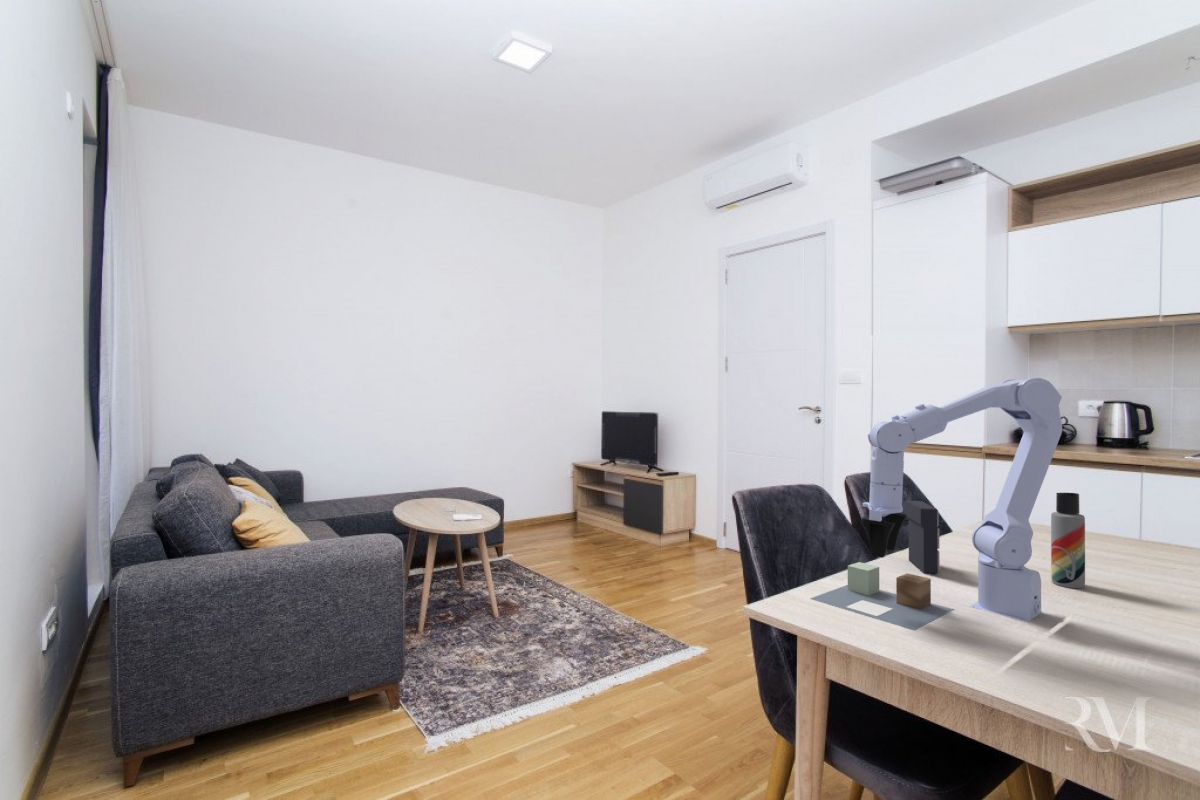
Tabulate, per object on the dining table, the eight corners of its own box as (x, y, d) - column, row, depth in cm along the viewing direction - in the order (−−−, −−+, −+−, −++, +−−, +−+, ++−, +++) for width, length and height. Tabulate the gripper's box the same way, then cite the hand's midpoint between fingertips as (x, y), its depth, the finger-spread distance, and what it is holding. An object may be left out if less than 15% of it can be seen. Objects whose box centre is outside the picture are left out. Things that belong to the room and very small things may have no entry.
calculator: (941, 574, 133) (941, 509, 133) (921, 573, 133) (920, 508, 133) (924, 561, 143) (924, 500, 143) (905, 560, 144) (905, 500, 144)
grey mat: (954, 612, 109) (954, 608, 109) (914, 633, 99) (914, 629, 99) (852, 585, 125) (852, 582, 125) (809, 601, 115) (809, 598, 115)
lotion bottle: (1056, 586, 124) (1056, 493, 124) (1047, 579, 129) (1047, 489, 129) (1089, 590, 121) (1089, 494, 121) (1079, 582, 127) (1078, 490, 127)
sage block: (879, 591, 120) (879, 566, 120) (868, 595, 117) (868, 570, 117) (858, 585, 123) (858, 562, 123) (847, 589, 120) (847, 565, 120)
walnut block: (930, 604, 112) (930, 578, 112) (920, 609, 109) (920, 583, 109) (907, 598, 115) (907, 573, 115) (896, 603, 113) (896, 577, 113)
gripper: (874, 477, 121) (871, 542, 122) (853, 483, 110) (850, 555, 110) (912, 481, 117) (908, 549, 117) (894, 488, 106) (890, 563, 106)
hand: (883, 552), depth 113 cm, fingers open, 7 cm apart
